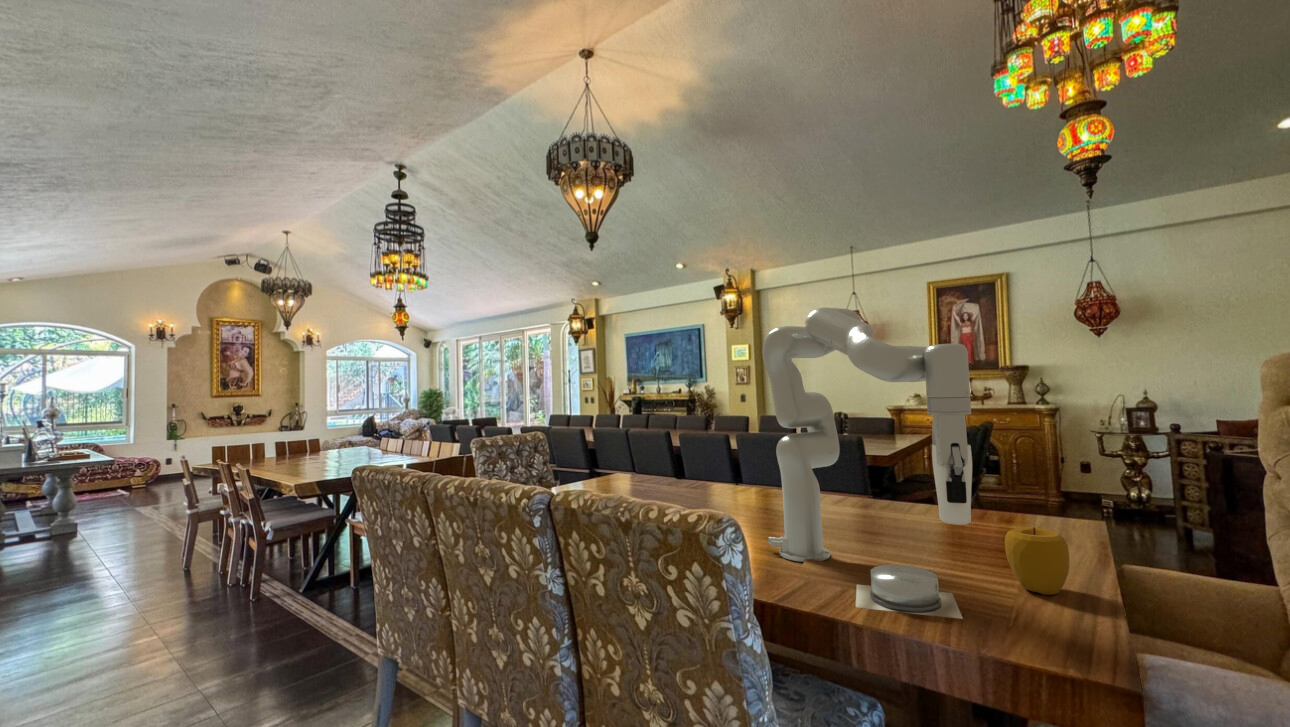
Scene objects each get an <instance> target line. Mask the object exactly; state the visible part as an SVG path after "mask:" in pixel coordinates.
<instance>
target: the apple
mask: <svg viewBox="0 0 1290 727" xmlns="http://www.w3.org/2000/svg"><path fill="white" fill-rule="evenodd" d="M1004 550H1005V555H1006V556H1005V557H1006V559H1007V562H1008V564H1009V566H1010V568H1011V571H1012V572H1013V575H1014V576H1015V577H1016V580H1017V581H1018V582H1019V584H1021V586H1022V588H1024V589H1026V590H1027V591H1030V592H1033V593H1034V592H1035V593H1038V594H1040V595H1044V596H1045V595H1046V596H1048V595H1049V596H1052V595H1056V594H1059V593H1060V592H1061V590H1062V588H1063V587H1064V585H1065V583H1066V580H1067V578H1068V575H1069V571H1070V551H1069V547H1068V543H1067V542H1066V539H1065V537H1064V536H1062V535H1061V534H1060V533H1058V532H1056V531H1052V530H1050V529H1046V528H1040V527H1036V526H1035V527H1034V526H1020V527H1016V528H1014V529H1012V530H1009V531H1007V532H1006V534H1005V537H1004Z"/></svg>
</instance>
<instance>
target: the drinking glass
mask: <svg viewBox="0 0 1290 727" xmlns="http://www.w3.org/2000/svg"><path fill="white" fill-rule="evenodd" d="M967 448H968V464H967V465H966V466H964V464H963V466H964V467H963V468H964V475H965V482H966V497H967V502H966V503H949V502H948V501H947V491H946V481H948V478H947V468H946V464H943V466H940V465H938V464H937V458H936V445H934V444H933V443H932V444H931V457H932V459H931V460H932V461H931V462H932V469H933V477H934V483H935V490H936V498H937V504H938V515H939V516H938V517H939V520H940V521H941V522H943V523H946V524H949V525H956V526H957V525H958V526H959V525H960V526H962V525H968V524H970V523H971V522H972V521H971V520H972V514H971V513H972V512H971V511H972V510H971V509H972V508H971V507H972V485H973V484H972V483H973V481H972V480H973V456H972V447H971V444H968V443H967ZM961 457H962V456H961ZM962 460H963V463H965V460H964V459H963V458H962ZM949 464H951V465H954V464H953V458H952V457H951V460H949ZM952 469H954V468H950V470H952Z"/></svg>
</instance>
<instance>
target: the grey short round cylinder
mask: <svg viewBox="0 0 1290 727" xmlns="http://www.w3.org/2000/svg"><path fill="white" fill-rule="evenodd" d="M938 578H939V577H938V575H937V574H936V573H934V572H932V571H931V570H928V569H925V568H923V567H922V568H921V567H918V566H914V565H906V564H882V565H877V566H874V567H873V568H871V569H870V584H871V585H870V586H871V587H872V590H871V591H870V596H871V599H872V600H873V601H874V602H875V603H876V604H878V605H880V606H882V607H885V608H888V609H892V610H896V611H901V612H900V613H902V612H909V613H908V614H912V613H927V612H932V611H936V610H938V609H939V608H940V607H941V599H940V597H939V592H940V591H939V590H940V589H939V579H938Z"/></svg>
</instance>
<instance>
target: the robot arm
mask: <svg viewBox="0 0 1290 727" xmlns="http://www.w3.org/2000/svg"><path fill="white" fill-rule="evenodd" d="M804 322H805V323H804V326H797V325H796V326H795V325H787V326H786V325H785V326H778V327H775V328H774V329H772V330H771V331H769V333H768V334H767V335H766V336H765V339H764V341H763V345H762V359H763V363H764V367H765V370H766V372H767V375H768V379H769V385H770V390H771V396H772V403H773V407H774V412H775V417H776V421H777V422H778V424H779V425H780V426H781V427H782V428H785V429H802V428H803V429H804V428H806V430H807V432H797V433H796V432H795V433H791V434H787V435H785V436H783V437H782V438H780V439H779V440H778V442H777V444H776V449H775V452H776V458H777V463H778V466H779V471H780V479H781V489H782V490H781V491H782V492H781V493H782V505H783V506H782V507H783V508H782V509H783V523H784V524H783V526H784V535H783V536H782V535H781V536H780V537H775V536H768V540H767V541H768V545H771V547H780V548H779V555H780V556H781V557H782V558H784V559H786V560H789V561H794V562H802V563H804V562H805V561H819V562H822V561H826V560H828V559H829V558H830V556H831V554H830V553H831V552H830V550H829V549H827V548H826V547H824V541H823V540H824V539H823V520H822V507H821V506H822V505H821V489H820V484H819V481H818V479H817V476H816V475H815V473H814V470H813V469H816V468H817V469H818V468H825V467H830V466H832V465H834V464H835V463H837V461H838V460H839V457H840V451H841V450H840V448H841V447H840V441H839V436H838V430H837V427H836V422H835V421H836V420H835V416H834V411H833V407H832V404H831V403H830V401H829V400H828V398H827V397H826V396H825V395H824V394H822V393H820V392H816V391H814V392H813V391H812V392H811V391H809V392H806V390H805V387H804V382H803V377H802V374H801V371H800V370H799V369H798V367H797V366H796V364H794V362H793V361H792V359H817V358H823V357H824V356H826V355H829V354H830V353H833V352H835V351H838V352H840V353H842V354H843V355H846V356H847V357H848V358H849V361H850V362H851V363H852V365H853V366H854V367H856V368H857V369H859V370H860V371H861V372H864V373H866V374H868V375H870V376H872V377H874V378H875V379H877V380H878V379H879V380H881V381H883V382H887V383H916V382H917V383H919V382H925V390H926V392H925V393H926V408H927V409H926V410H927V412H926V413H927V415H932V423H931V424H932V425H931V427H932V428H931V429H932V430H931V431H932V432H931V433H932V436H931V437H932V444H934V445H936V458H937V464H938V465H940V466H943V464H946V468H947V478H948V481H946V491H947V501H948V502H949V503H966V502H967V497H966V482H965V475H964V468H963V467H964V466H966V465H967V464H968V448H967V444H968V436H967V434H968V433H967V422H966V415H972V406H971V405H972V404H971V385H970V369H969V367H970V366H969V353H968V349H967V347H966V346H965V345H964V344H961V343H939V344H932V345H929V346H921V345H920V346H919V345H917V346H916V345H915V346H914V345H913V346H912V345H892V344H888V343H885V342H883V341H881V340H878V339H876V338H875V332H874V329H873V327H872V326H871V325H870V324H869V323H866V322H865V321H862V320H861V317H860V315H859V314H858V313H857V312H855V311H853V310H851V309H849V308H839V307H818V308H816V309H814V310H812V311H810V312H809V313H808V315H807V316H806V319H805V320H804ZM961 456H962V457H961ZM951 457H952V458H953V464H954V465H951V464H949V460H951ZM962 458H963V459H964V460H965V463H963V460H962ZM963 464H964V466H963ZM950 468H954V469H952V470H950Z"/></svg>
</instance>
